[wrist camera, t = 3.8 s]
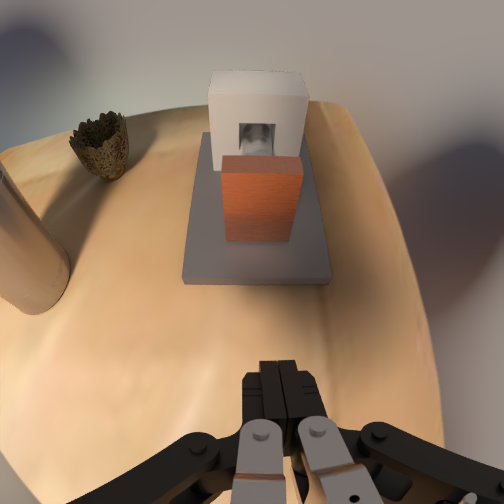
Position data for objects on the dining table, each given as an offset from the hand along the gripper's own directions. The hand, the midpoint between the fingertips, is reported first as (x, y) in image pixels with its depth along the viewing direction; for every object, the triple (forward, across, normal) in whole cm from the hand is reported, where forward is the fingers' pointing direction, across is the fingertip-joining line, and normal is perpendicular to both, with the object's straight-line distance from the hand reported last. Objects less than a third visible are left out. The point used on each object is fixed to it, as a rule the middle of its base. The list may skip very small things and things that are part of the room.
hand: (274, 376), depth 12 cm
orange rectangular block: (+22, 0, -6) cm, 23 cm away
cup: (+28, +19, -9) cm, 35 cm away
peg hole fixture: (+24, 0, -6) cm, 25 cm away
